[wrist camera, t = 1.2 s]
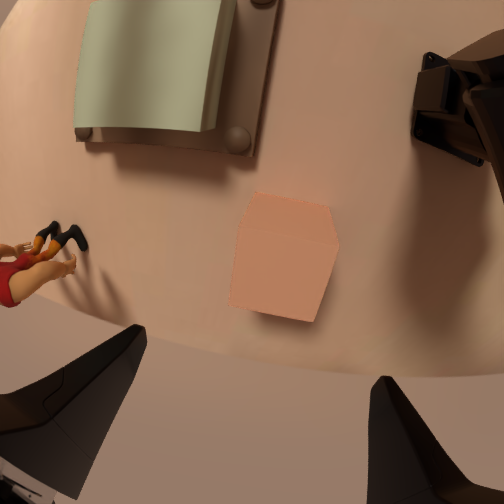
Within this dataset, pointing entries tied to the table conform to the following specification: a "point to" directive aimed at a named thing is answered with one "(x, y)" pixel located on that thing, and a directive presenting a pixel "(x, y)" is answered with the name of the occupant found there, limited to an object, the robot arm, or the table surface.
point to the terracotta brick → (283, 257)
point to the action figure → (35, 264)
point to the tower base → (233, 93)
